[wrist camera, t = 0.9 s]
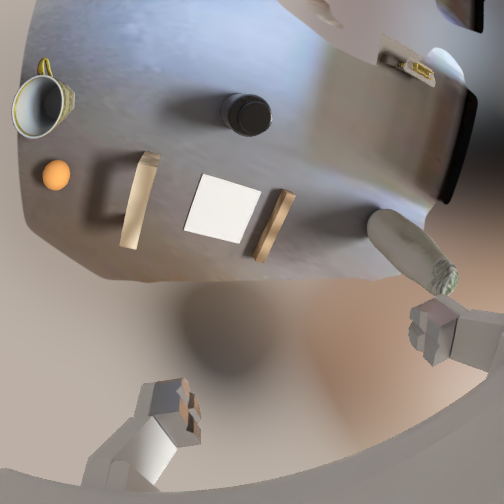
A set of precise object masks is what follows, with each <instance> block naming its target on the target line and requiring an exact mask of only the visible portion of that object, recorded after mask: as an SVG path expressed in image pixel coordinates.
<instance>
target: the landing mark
mask: <svg viewBox="0 0 504 504" xmlns="http://www.w3.org/2000/svg"><path fill="white" fill-rule="evenodd" d="M260 194H261V191H258V190H255V189H252V188H248V187H245V186H242V185H239V184H236V183H233V182H229V181H226V180H223V179H219V178H216V177H213V176H209V175H206V174H203V175H202V178H201V181H200V183H199V186H198V189H197V192H196V195H195V198H194V201H193V203H192V206H191V209H190V212H189V215H188V218H187V221H186V225H185V228H184V230H185V231H189V232H193V233H198V234H202V235H206V236H210V237H214V238H218V239H222V240H226V241H231V242H235V243H240V241H241V238H242V236H243V234H244V231H245V229H246V227H247V224H248V222H249V220H250V217H251V215H252V213H253V210H254V208H255V206H256V203H257V201H258V199H259V196H260Z"/></svg>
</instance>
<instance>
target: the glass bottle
mask: <svg viewBox="0 0 504 504" xmlns="http://www.w3.org/2000/svg"><path fill="white" fill-rule="evenodd" d="M367 234H368V237H369V239H370V241H371V242H372V244H373V245H374V246H375V247H376V248H377V249H378V250H379V251H380V252H381V253H382V254H383V255H384V256H385V257H386V258H387V259H388V260H389V261H390V262H391V263H392V264H393V265H394V267H395V268H397V269H398V270H399V271H400V272H401V273H402V274H403V275H405V276H406V277H408V278H409V279H411V280H413V281H415V282H416V283H418V284H419V285H421V286H422V287H423V288H425V289H426V290H427V291H428V292H429V293H431V294H432V295H434V296H438V295H440V294H446V295H447V296H448V295H450V294H451V293H452V292H453V290H454V289H455V288H456V285H457V282H458V272H457V269H456V267H455V266H454V264H453V263H452V262H451V261H450V260H449V259H448V258H447V257H446V256H445V255H444V253H443V252H442V251H441V250H440V248H439V247H438V245H437V244H436V243H435V242H434V240H433V239H432V238H431V237H430V236H429V235H428V234H427V233H426V232H425V231H423V230H422V229H421V228H419V227H418V226H417V225H415V224H414V223H412V222H411V221H409V220H408V219H406V218H405V217H404V216H402V215H401V214H399V213H398V212H396V211H394V210H391V209H380V210H377V211H376V212H374V213H373V214H372V215H371V216H370V218H369V220H368V223H367Z"/></svg>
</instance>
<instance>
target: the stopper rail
mask: <svg viewBox="0 0 504 504" xmlns="http://www.w3.org/2000/svg"><path fill="white" fill-rule="evenodd" d="M295 197H296V196H295V195H294V194H293V193H292V192H291V191H288V190H285V189H282V192H281V194H280V196H279V198H278V200H277V203H276V205H275V207H274V209H273V211H272V213H271V216H270V218H269V220H268V222H267V224H266V227H265V229H264V231H263V233H262V235H261V238H260V240H259V242H258V244H257V246H256V248H255V251H254V253H253V257H254V259H255V261H257V262H261V263H264V261H265V259H266V257H267V255H268V253H269V251H270V249H271V247H272V245H273V243H274V241H275V239H276V237H277V234H278V232H279V230H280V228H281V226H282V224H283V222H284V220H285V218H286V216H287V213H288V211H289V209H290V207H291V205H292V203H293V201H294V199H295Z"/></svg>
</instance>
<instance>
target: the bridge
mask: <svg viewBox="0 0 504 504" xmlns="http://www.w3.org/2000/svg"><path fill="white" fill-rule="evenodd" d="M160 157H161V155H159V154H155V153H152V152H148V151H145V152H144V154H143V156H142V157H141V159H140V161H139V163H138V166H137V170H136V174H135V177H134V181H133V185H132V189H131V193H130V197H129V202H128V206H127V210H126V215H125V220H124V225H123V230H122V235H121V240H120V246H122V247H127V248H131V249H136V248H137V243H138V239H139V235H140V230H141V226H142V222H143V218H144V214H145V210H146V206H147V202H148V198H149V195H150V191H151V188H152V184H153V181H154V177H155V174H156V170H157V167H158V163H159V160H160Z"/></svg>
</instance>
